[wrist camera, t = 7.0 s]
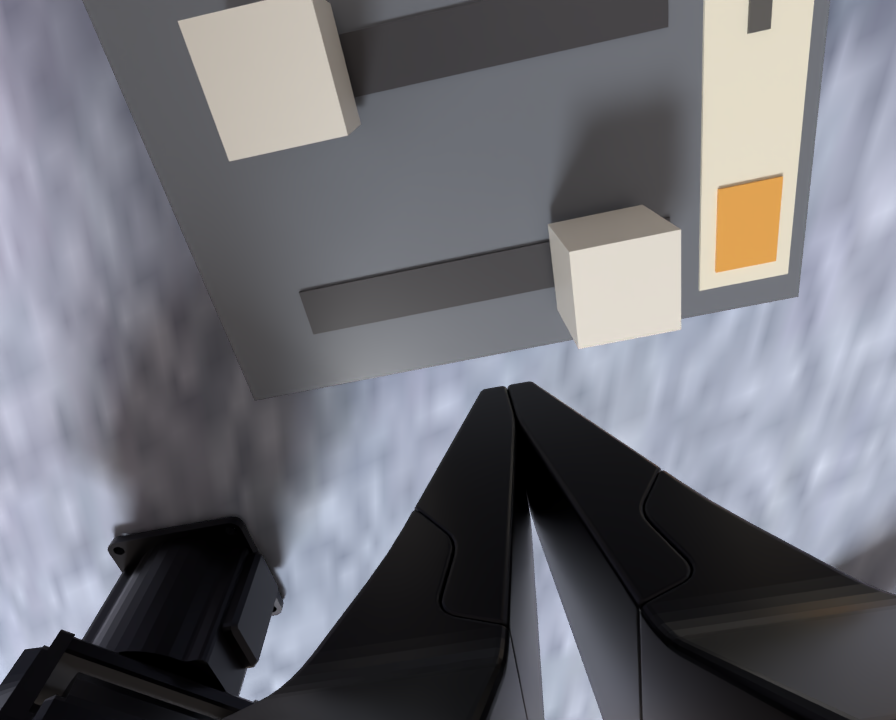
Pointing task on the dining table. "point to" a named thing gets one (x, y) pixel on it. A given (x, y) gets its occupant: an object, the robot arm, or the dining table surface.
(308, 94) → the tab
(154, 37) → the switch panel
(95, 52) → the dining table surface
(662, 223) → the beige cube
